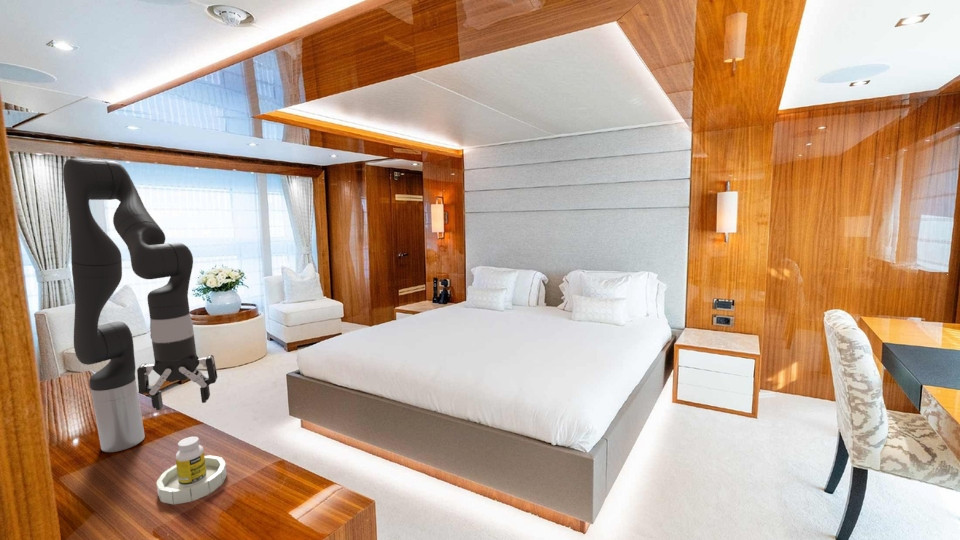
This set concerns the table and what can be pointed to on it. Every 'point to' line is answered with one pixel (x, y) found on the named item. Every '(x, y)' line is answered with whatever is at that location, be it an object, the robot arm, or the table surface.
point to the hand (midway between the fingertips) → (182, 405)
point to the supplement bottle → (190, 462)
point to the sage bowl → (178, 494)
